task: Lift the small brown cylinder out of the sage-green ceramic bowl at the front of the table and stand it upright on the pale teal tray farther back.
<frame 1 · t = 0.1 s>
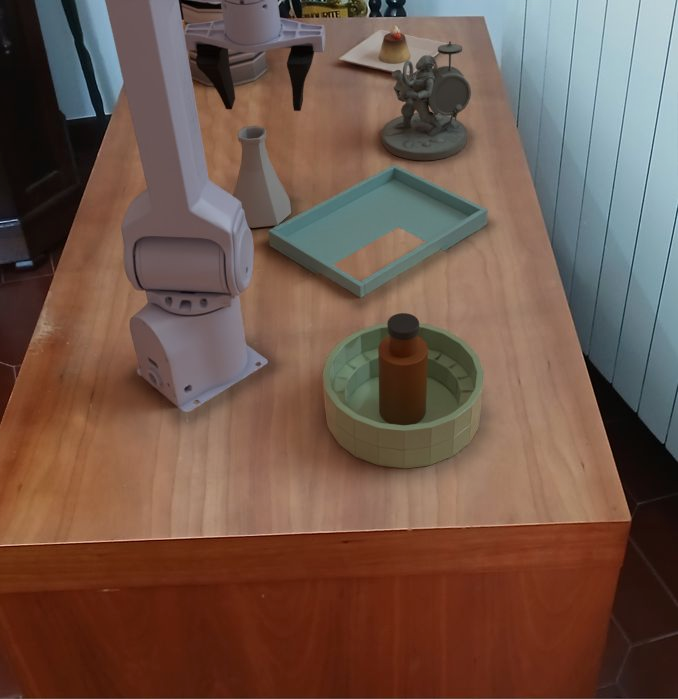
hand: (264, 104, 102), 11 cm above the table, tool pointing down, fingers open, 7 cm apart
dessert: (394, 59, 135), on the table
can: (229, 71, 134), on the table
brown cylinder: (402, 410, 79), point 1 cm above the table, touching bowl
flask: (260, 213, 105), on the table
tray: (378, 235, 100), on the table
bowl: (402, 415, 79), on the table
figurine: (424, 141, 116), on the table
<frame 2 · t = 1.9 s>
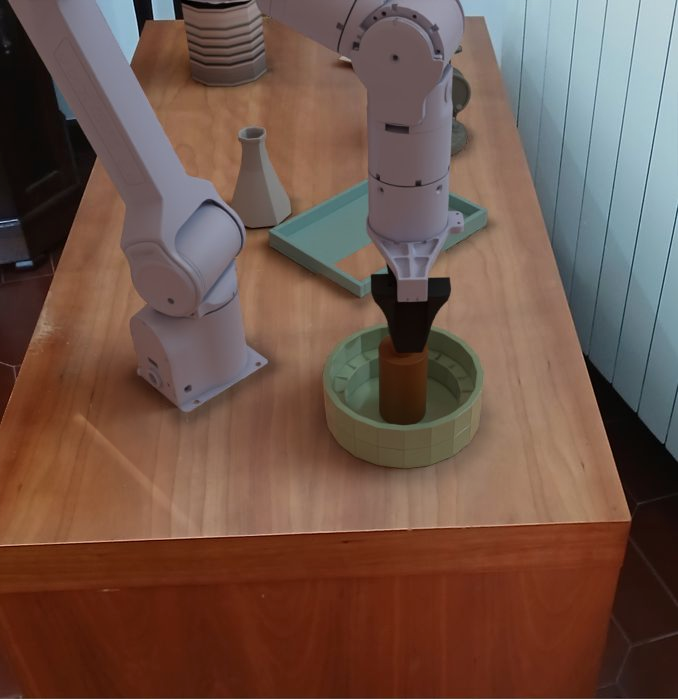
hand: (407, 318, 73), 10 cm above the table, tool pointing down, fingers open, 7 cm apart
nothing on the table moved.
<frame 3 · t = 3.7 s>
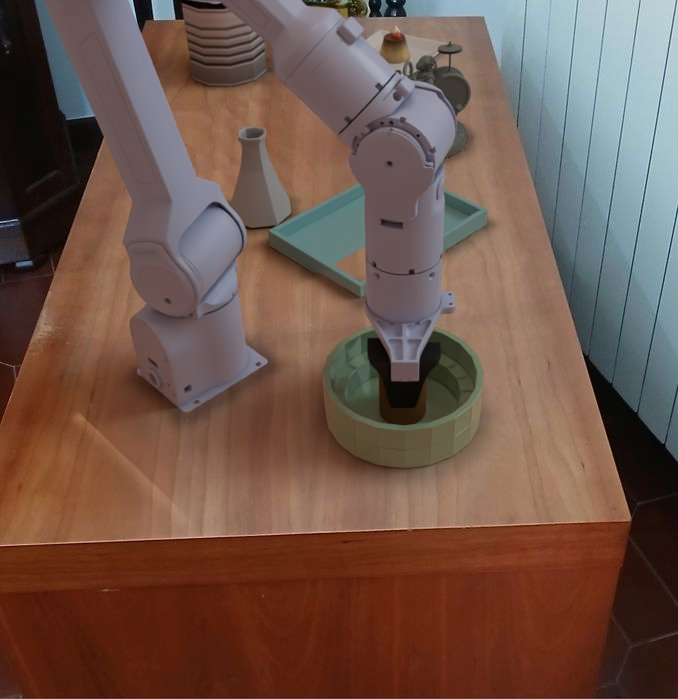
hand: (402, 386, 77), 3 cm above the table, tool pointing down, fingers closed on brown cylinder, 4 cm apart
brown cylinder: (402, 409, 79), point 1 cm above the table, touching bowl, gripper
everything else where it was.
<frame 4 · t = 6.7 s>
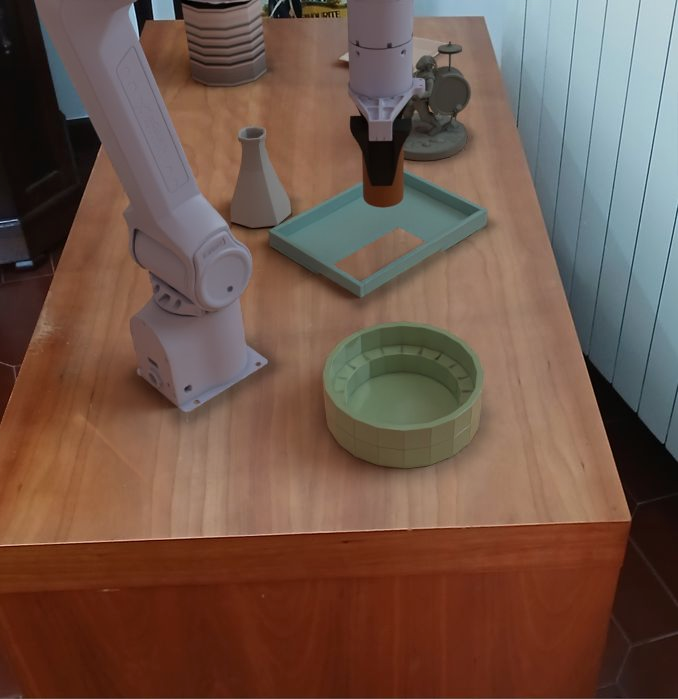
hand: (382, 172, 90), 10 cm above the table, tool pointing down, fingers closed on brown cylinder, 4 cm apart
brown cylinder: (383, 196, 92), point 8 cm above the table, touching gripper
everything else where it was.
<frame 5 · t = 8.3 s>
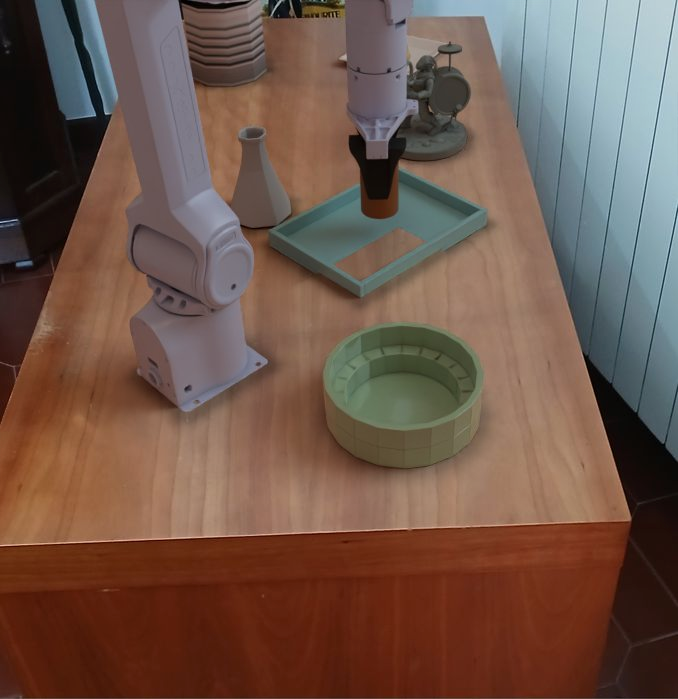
hand: (378, 186, 96), 6 cm above the table, tool pointing down, fingers closed on brown cylinder, 4 cm apart
brown cylinder: (379, 209, 98), point 3 cm above the table, touching gripper
everything else where it was.
when the fingers open (3 cm above the table, at t = 9.6 s): brown cylinder stays where it is, resting on tray.
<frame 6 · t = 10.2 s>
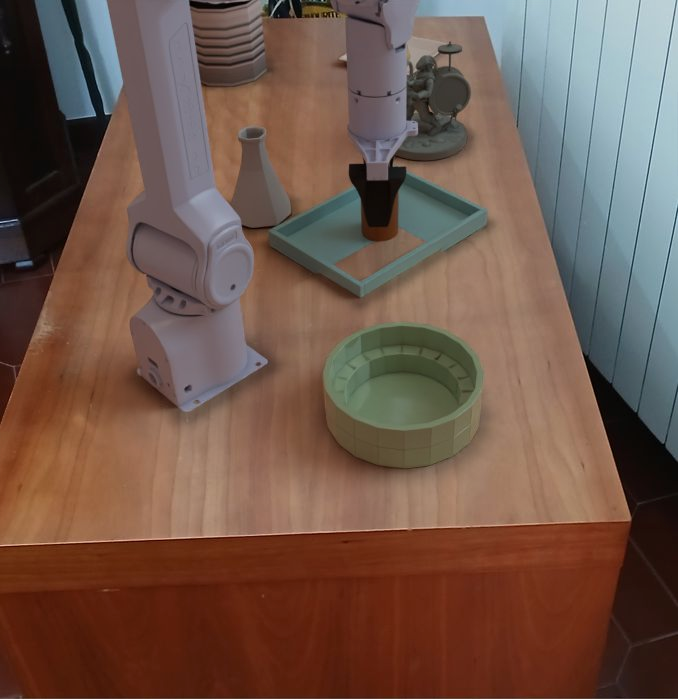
hand: (378, 205, 98), 4 cm above the table, tool pointing down, fingers open, 7 cm apart
brown cylinder: (379, 231, 100), resting on tray
everything else where it was.
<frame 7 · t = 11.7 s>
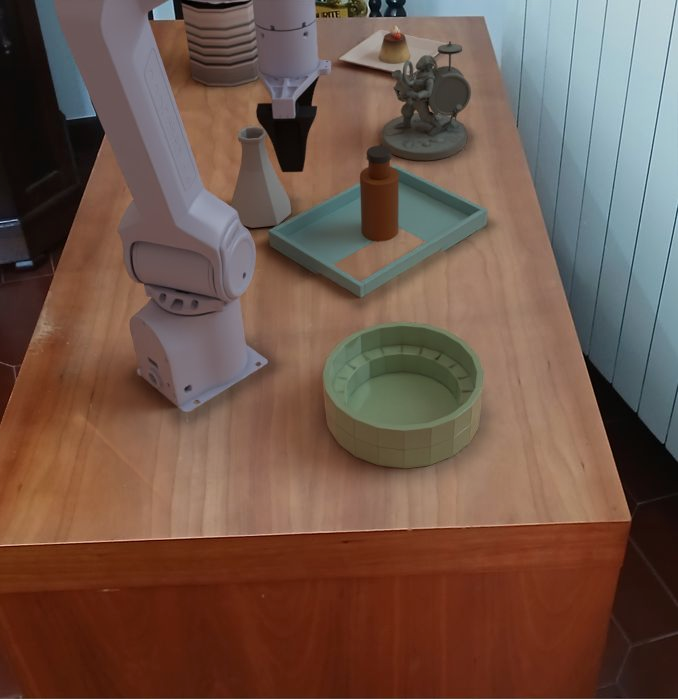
hand: (295, 151, 94), 10 cm above the table, tool pointing down, fingers open, 7 cm apart
nothing on the table moved.
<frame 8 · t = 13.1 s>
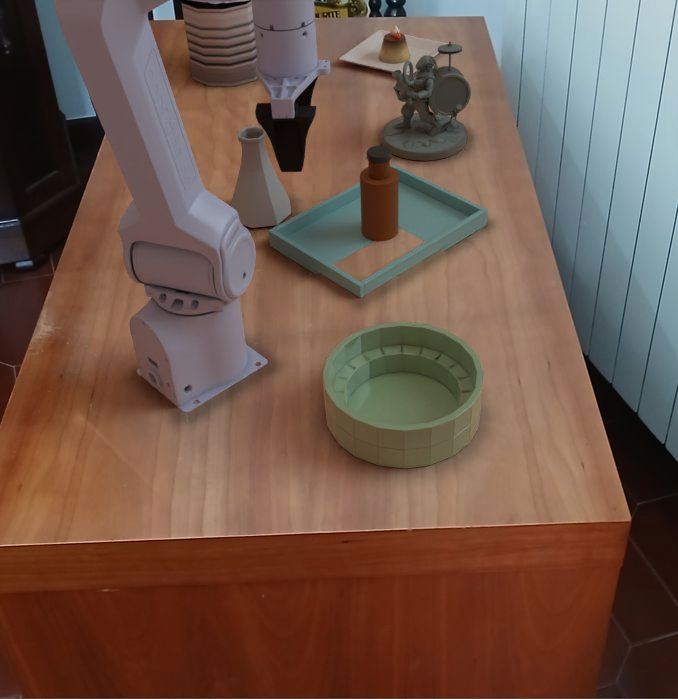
hand: (294, 151, 94), 10 cm above the table, tool pointing down, fingers open, 7 cm apart
nothing on the table moved.
at the end: brown cylinder inside the target area on the tray (0.1 cm from its centre), point 0.5 cm above the tray's base; brown cylinder tilted 0°; the gripper is holding nothing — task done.
